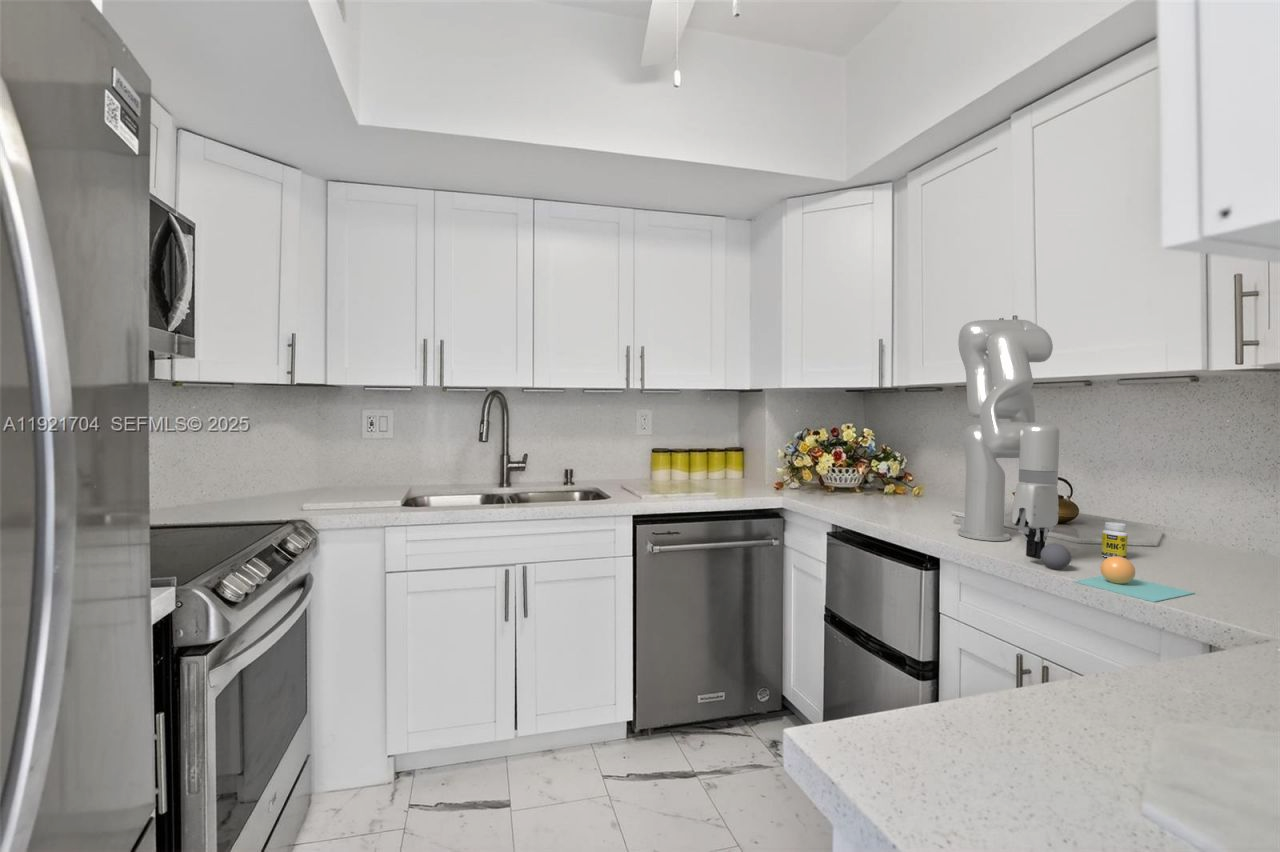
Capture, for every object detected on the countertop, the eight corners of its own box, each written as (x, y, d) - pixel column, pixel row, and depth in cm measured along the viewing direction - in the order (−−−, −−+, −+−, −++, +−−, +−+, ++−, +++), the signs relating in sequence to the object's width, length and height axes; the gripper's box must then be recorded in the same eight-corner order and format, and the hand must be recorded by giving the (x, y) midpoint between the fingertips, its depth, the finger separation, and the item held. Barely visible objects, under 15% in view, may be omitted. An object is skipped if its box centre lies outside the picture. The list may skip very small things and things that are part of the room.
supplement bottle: (1103, 558, 144) (1104, 523, 144) (1099, 554, 148) (1100, 520, 148) (1128, 561, 142) (1130, 526, 141) (1123, 557, 146) (1125, 522, 145)
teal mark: (1074, 581, 124) (1074, 580, 124) (1114, 574, 130) (1114, 573, 130) (1154, 602, 111) (1154, 601, 111) (1195, 593, 117) (1195, 592, 117)
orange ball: (1111, 552, 122) (1132, 577, 118) (1127, 549, 124) (1148, 574, 120) (1088, 566, 125) (1108, 590, 122) (1104, 563, 128) (1124, 587, 124)
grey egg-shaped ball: (1056, 542, 131) (1063, 568, 130) (1072, 541, 133) (1080, 566, 132) (1031, 546, 136) (1038, 571, 135) (1047, 544, 138) (1055, 569, 137)
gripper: (1042, 475, 144) (1039, 551, 145) (1000, 477, 138) (997, 556, 139) (1075, 478, 137) (1072, 558, 138) (1033, 481, 131) (1030, 564, 132)
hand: (1035, 557), depth 138 cm, fingers closed
